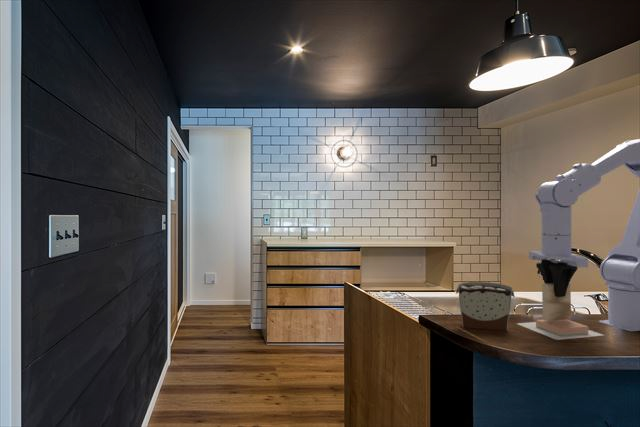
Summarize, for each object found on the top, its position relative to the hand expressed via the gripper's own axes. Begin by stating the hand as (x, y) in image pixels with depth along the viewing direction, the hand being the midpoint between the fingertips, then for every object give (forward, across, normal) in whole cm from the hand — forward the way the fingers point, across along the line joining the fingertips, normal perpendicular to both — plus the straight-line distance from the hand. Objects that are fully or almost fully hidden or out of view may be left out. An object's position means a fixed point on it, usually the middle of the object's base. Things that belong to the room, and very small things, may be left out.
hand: (556, 295), depth 90 cm
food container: (+8, -6, -14) cm, 17 cm away
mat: (+8, 0, 0) cm, 8 cm away
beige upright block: (+5, 0, 0) cm, 5 cm away
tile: (+7, -2, 0) cm, 7 cm away
